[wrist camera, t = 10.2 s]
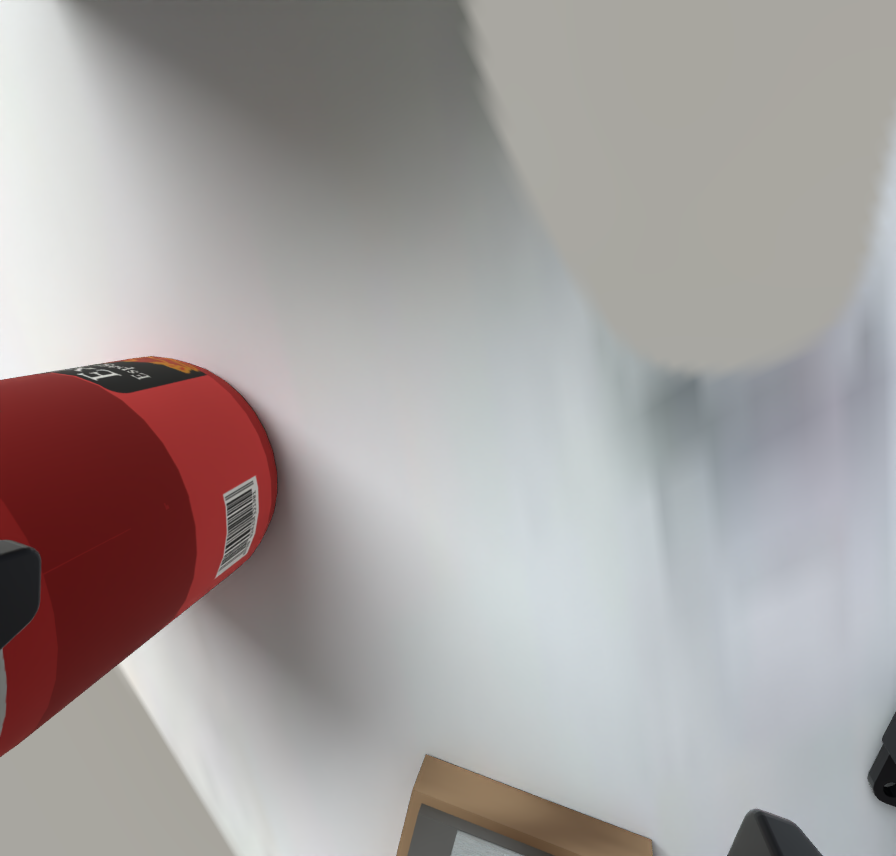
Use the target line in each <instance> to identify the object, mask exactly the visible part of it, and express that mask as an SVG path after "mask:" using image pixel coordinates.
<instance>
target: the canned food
mask: <svg viewBox="0 0 896 856" xmlns="http://www.w3.org/2000/svg"><path fill="white" fill-rule="evenodd" d="M276 497H277V470H276V465H275V460H274V455H273V450H272V448H271V445H270V442H269V440H268V437H267V434H266V432H265V430H264V428H263V426H262V424H261V423H260V421H259V419H258V417H257V416H256V414H255V412H254V411H253V409H252V408H251V407H250V406H249V404H248V403H247V402H246V401H245V400H244V398H243V397H242V396H241V395H240V394H239V393H238V392H237V391H236V390H235V389H234V388H232V387H231V386H230V385H229V384H228V383H227V382H226V381H224V380H223V379H221V378H220V377H218V376H216V375H215V374H213V373H211V372H210V371H208V370H206V369H204V368H201V367H198V366H195V365H192V364H190V363H186V362H183V361H179V360H175V359H170V358H162V357H154V356H150V357H141V358H133V359H126V360H120V361H114V362H108V363H102V364H96V365H89V366H83V367H77V368H71V369H65V370H59V371H53V372H46V373H40V374H34V375H28V376H22V377H16V378H10V379H3V380H0V540H13V541H16V542H19V543H22V544H24V545H27V546H30V547H33V548H35V549H36V550H37V551H38V552H39V554H40V556H41V594H40V605H39V609H38V611H37V613H36V615H35V616H34V618H33V619H32V621H31V622H30V623H29V624H28V625H27V626H26V627H25V628H24V629H23V630H21V631H20V632H19V633H18V634H17V635H16V636H15V637H14V638H13V639H12V640H11V641H10V642H9V643H8V644H7V645H5V646H4V647H3V648H2V649H1V650H0V757H1V756H2V755H4V754H5V753H7V752H8V751H9V750H11V749H12V748H14V747H15V746H17V745H18V744H19V743H20V742H22V741H23V740H24V739H25V738H27V737H28V736H29V735H30V734H32V733H33V732H34V731H35V730H36V729H38V728H39V727H40V726H42V725H43V724H44V723H45V722H46V721H48V720H49V719H50V718H51V717H53V716H54V715H55V714H57V713H58V712H59V711H60V710H62V709H63V708H64V707H65V706H67V705H68V704H69V703H70V702H72V701H73V700H74V699H75V698H76V697H78V696H79V695H80V694H82V693H83V692H84V691H85V690H87V689H88V688H89V687H90V686H92V685H93V684H94V683H95V682H97V681H98V680H99V679H100V678H101V677H103V676H104V675H105V674H107V673H108V672H109V671H110V670H111V669H113V668H114V667H115V666H117V665H118V664H119V663H120V662H122V661H123V660H124V659H125V658H127V657H128V656H129V655H130V654H132V653H133V652H134V651H135V650H137V649H138V648H139V647H140V646H142V645H143V644H144V643H145V642H147V641H148V640H149V639H150V638H151V637H153V636H154V635H155V634H156V633H158V632H159V631H160V630H161V629H163V628H164V627H165V626H166V625H168V624H169V623H170V622H171V621H173V620H174V619H175V618H176V617H178V616H179V615H180V614H181V613H183V612H184V611H185V610H186V609H188V608H189V607H190V606H191V605H193V604H194V603H195V602H196V601H198V600H199V599H200V598H201V597H203V596H204V595H205V594H206V593H208V592H209V591H210V590H211V589H213V588H214V587H215V586H216V585H218V584H219V583H220V582H221V581H223V580H224V579H225V578H226V577H228V576H229V575H230V574H231V573H233V572H234V571H235V570H236V569H237V568H239V567H240V566H241V565H242V564H243V563H244V562H245V561H247V560H248V559H249V558H250V557H251V555H252V554H253V552H254V551H255V549H256V548H257V546H258V545H259V544H260V542H261V540H262V538H263V536H264V534H265V532H266V530H267V528H268V526H269V523H270V521H271V518H272V516H273V513H274V509H275V503H276Z"/></svg>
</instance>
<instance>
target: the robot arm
mask: <svg viewBox="0 0 896 856" xmlns="http://www.w3.org/2000/svg"><path fill="white" fill-rule="evenodd" d="M40 594H41V556H40V554H39V552H38V551H37V550H36V549H35V548H33V547H30V546H27V545H24V544H22V543H19V542H16V541H13V540H0V650H1V649H2V648H3V647H4V646H5V645H7V644H8V643H9V642H10V641H11V640H12V639H13V638H14V637H15V636H16V635H17V634H18V633H19V632H20V631H21V630H23V629H24V628H25V627H26V626H27V625H28V624H29V623H30V622H31V621H32V619H33V618H34V616H35V615H36V613H37V611H38V609H39V605H40ZM882 741H883V743H884V744H883V746H882V748H881V750H880V752H879V754H878V756H877V758H876V760H875V762H874V763H873V765H872V767H871V769H870V771H869V774H868V778H867V779H868V782H869V785H870V787H871V789H872V791H873V793H874V794H875V796H876V797H877V798H878V799H879V800H880V801H882V802H884V803H886V804H889V805H892V806H895V807H896V712H895V714H894V716H893V718H892V720H891V722H890V724H889V726H888V728H887V730H886V732H885V734H884V736H883V738H882ZM890 782H893V783H895V784H894V785H893V786H890V787H886V786H884V785H885V784H887V783H890ZM727 856H822V854H821V853H820V852H819V851H818V850H817V848H816V847H815V846H814V845H813V844H812V842H811V841H810V840H809V839H808V838H807V836H806V835H805V834H804V833H803V832H802V830H801V829H800V828H799V827H798V826H797V825H796V824H795V823H793V822H792V821H790V820H788V819H785V818H782V817H780V816H777V815H774V814H771V813H769V812H766V811H763V810H760V809H753V810H750V811H749V812H748V813H747V814H746V816H745V818H744V820H743V822H742V824H741V826H740V828H739V831H738V833H737V835H736V837H735V840H734V842H733V844H732V846H731V848H730V851H729V853H728V855H727Z"/></svg>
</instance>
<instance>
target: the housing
mask: <svg viewBox="0 0 896 856" xmlns="http://www.w3.org/2000/svg"><path fill="white" fill-rule="evenodd" d="M451 856H524V855H521V854H519V853H516V852H514V851H511V850H509V849H506V848H503V847H501V846H498V845H496V844H493V843H491V842H488V841H486V840H483V839H480V838H478V837H475V836H473V835H470V834H468V833H465V832H463V831H460V830H458V831H457V835H456V838H455V842H454V846H453V849H452V853H451Z"/></svg>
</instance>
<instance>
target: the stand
mask: <svg viewBox="0 0 896 856" xmlns="http://www.w3.org/2000/svg"><path fill="white" fill-rule="evenodd" d="M458 830H460V831H463V832H465V833H468V834H470V835H473V836H475V837H478V838H480V839H483V840H486V841H488V842H491V843H493V844H496V845H498V846H501V847H503V848H506V849H509V850H511V851H514V852H516V853H519V854H521V855H524V856H653V852H652V840H651V839H648V838H645V837H643V836H640V835H638V834H635V833H632V832H630V831H627V830H624V829H622V828H619V827H616V826H614V825H611V824H609V823H606V822H603V821H601V820H598V819H595V818H593V817H590V816H587V815H585V814H582V813H579V812H577V811H574V810H572V809H569V808H566V807H564V806H561V805H558V804H556V803H553V802H550V801H548V800H545V799H542V798H540V797H537V796H535V795H532V794H529V793H527V792H524V791H521V790H519V789H516V788H513V787H511V786H508V785H506V784H503V783H500V782H498V781H495V780H492V779H490V778H487V777H484V776H482V775H479V774H476V773H474V772H471V771H469V770H466V769H463V768H461V767H458V766H455V765H453V764H450V763H447V762H445V761H442V760H439V759H437V758H434V757H432V756H429V755H425V758H424V761H423V763H422V766H421V769H420V771H419V774H418V776H417V779H416V782H415V784H414V787H413V790H412V794H411V798H410V802H409V806H408V810H407V814H406V818H405V822H404V826H403V830H402V834H401V838H400V842H399V846H398V851H397V855H396V856H451V853H452V849H453V846H454V842H455V838H456V835H457V831H458Z"/></svg>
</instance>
